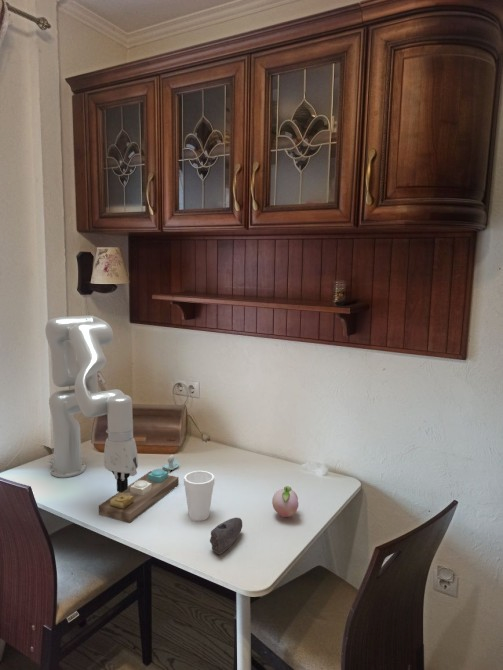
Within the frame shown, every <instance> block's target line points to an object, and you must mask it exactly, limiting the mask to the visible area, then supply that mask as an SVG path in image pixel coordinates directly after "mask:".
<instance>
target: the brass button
mask: <svg viewBox="0 0 503 670" xmlns="http://www.w3.org/2000/svg"><path fill="white" fill-rule="evenodd" d="M116 494H117V493H116ZM110 503H111V507H115V508H118V509H122V510H124V509H126V508H127V507H128V506H130V505H131V504H133V496H130V495H129V494H127V493H120V494H117V495H116V496H115V497H114V498H113V499H111V500H110Z"/></svg>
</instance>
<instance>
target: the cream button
mask: <svg viewBox="0 0 503 670" xmlns="http://www.w3.org/2000/svg"><path fill="white" fill-rule="evenodd" d="M134 482H135V481H134ZM150 490H152V483H148V482H147V481H144V480H140V481H137V482H135V483H134V484H133V485H132V486H130V493H133V494H137V495H141V496H144V495H145V494H146V493H148V492H149V491H150Z"/></svg>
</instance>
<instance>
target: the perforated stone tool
mask: <svg viewBox="0 0 503 670" xmlns="http://www.w3.org/2000/svg"><path fill="white" fill-rule="evenodd" d="M242 520H243V519H241V517H233V518H229V519H227V520H225V521H223V522H222V523H219V524H217V526H215V527H214V528H213V529H212V530H211V531H210V538H209V543H210V544H211V549H212V551H214V553H216V554H217V555H221V554H223V553H224V552H225V551H227V550H228V549H229V548H230V547H231V546H232V545H233V544H234V542H236V540H237V539H238V537H239V536H240V533H241V532H242V529H243V521H242Z"/></svg>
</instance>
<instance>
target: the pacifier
mask: <svg viewBox="0 0 503 670" xmlns="http://www.w3.org/2000/svg"><path fill="white" fill-rule="evenodd" d="M167 462H168V463H165V464H164V465H162V466H161V467H160V468H159V469H162V470H164V471H166V472H172V471H174V470H175V469H176V468H178V467H179V466H180V462H179V461H178V460H175V455H174V454H170V455H169V456H168V458H167ZM171 470H172V471H171Z"/></svg>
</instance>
